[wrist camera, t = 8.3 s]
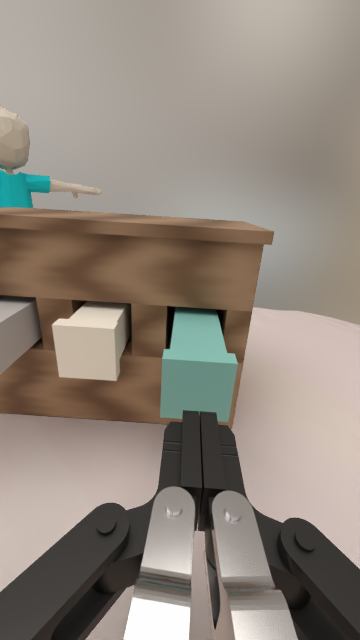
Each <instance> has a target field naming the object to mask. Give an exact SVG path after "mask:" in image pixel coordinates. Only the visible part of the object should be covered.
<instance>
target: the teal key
mask: <svg viewBox="0 0 360 640" xmlns="http://www.w3.org/2000/svg"><path fill="white" fill-rule="evenodd" d="M237 366H238V362H237V359H236V356H235V354H233V353H227V350H226V346H225V342H224V338H223V334H222V330H221V326H220V322H219V319H218V315H217V311H216V309H206V308H191V307H176V308H175V316H174V323H173V331H172V338H171V345H170V349H164V352H163V357H162V379H161V406H160V417H161V418H176V419H182V415H183V410H190V411H199V414H200V411H205V412H216V414H217V421H220V422H228V420H229V414H230V408H231V402H232V396H233V390H234V384H235V378H236V372H237Z"/></svg>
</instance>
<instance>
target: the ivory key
mask: <svg viewBox="0 0 360 640" xmlns="http://www.w3.org/2000/svg"><path fill="white" fill-rule="evenodd" d="M52 330H53V337H54V344H55V351H56V358H57V365H58V372H59V377H65V378H80V379H95V380H110V381H117V378H118V376H119V373H120V357H121V355H122V353H123V351H124V348H125V346H126V344H127V342H128V339H129V337H130V335H131V333H132V315H131V304H130V303H114V302H99V301H87V302H86V303H85V304H84V305H83V306H82V307H81V308H80V309H78V310H77V311H76V312H75V313H74V314H73V315H72V316H71V317H70V318H69V319H60V318H59V319H58V320H57V321H56V322H54V323H53V324H52Z"/></svg>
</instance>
